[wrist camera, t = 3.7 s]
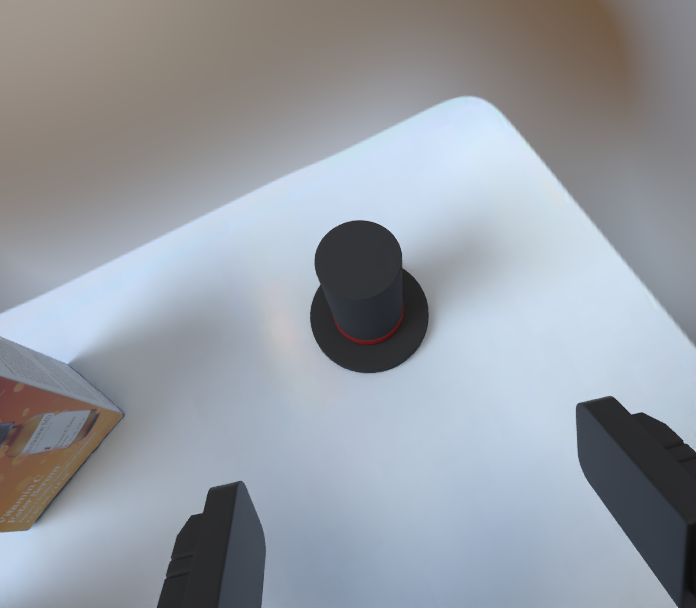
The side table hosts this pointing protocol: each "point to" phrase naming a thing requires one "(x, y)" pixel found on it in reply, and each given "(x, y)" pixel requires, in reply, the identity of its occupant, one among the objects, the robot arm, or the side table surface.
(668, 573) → the robot arm
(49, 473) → the small box
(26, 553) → the side table surface
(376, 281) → the hat
